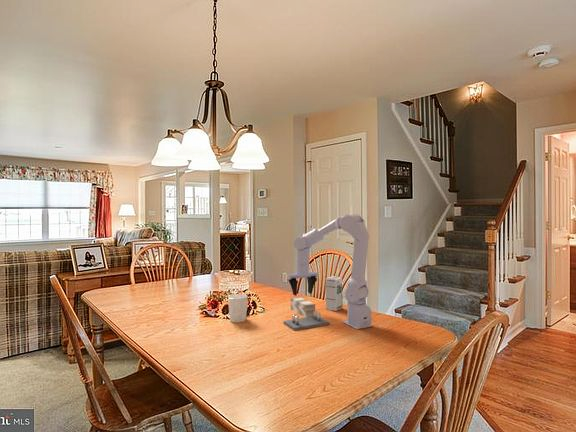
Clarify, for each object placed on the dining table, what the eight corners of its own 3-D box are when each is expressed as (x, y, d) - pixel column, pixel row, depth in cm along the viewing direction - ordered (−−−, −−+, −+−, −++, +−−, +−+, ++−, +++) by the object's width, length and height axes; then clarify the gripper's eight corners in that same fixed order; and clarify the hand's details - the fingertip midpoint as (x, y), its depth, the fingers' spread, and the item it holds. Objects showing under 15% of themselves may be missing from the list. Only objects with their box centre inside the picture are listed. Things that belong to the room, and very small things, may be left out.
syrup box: (336, 311, 164) (336, 279, 163) (325, 309, 167) (325, 277, 167) (342, 308, 168) (342, 277, 168) (331, 306, 172) (331, 275, 172)
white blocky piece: (315, 316, 156) (315, 304, 156) (305, 318, 154) (306, 305, 154) (299, 308, 169) (299, 296, 169) (290, 309, 167) (290, 297, 167)
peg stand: (317, 318, 154) (317, 308, 154) (329, 324, 146) (329, 314, 146) (283, 323, 147) (283, 313, 147) (294, 330, 139) (294, 320, 139)
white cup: (224, 321, 150) (224, 297, 149) (235, 316, 157) (235, 293, 156) (240, 324, 146) (240, 299, 146) (251, 318, 153) (251, 295, 153)
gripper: (312, 261, 168) (312, 290, 168) (283, 263, 161) (283, 293, 162) (320, 263, 161) (320, 293, 162) (291, 265, 155) (291, 297, 155)
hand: (302, 294), depth 161 cm, fingers open, 7 cm apart
